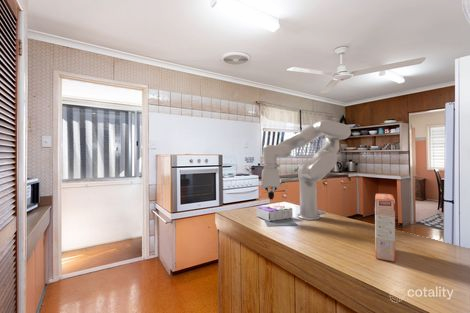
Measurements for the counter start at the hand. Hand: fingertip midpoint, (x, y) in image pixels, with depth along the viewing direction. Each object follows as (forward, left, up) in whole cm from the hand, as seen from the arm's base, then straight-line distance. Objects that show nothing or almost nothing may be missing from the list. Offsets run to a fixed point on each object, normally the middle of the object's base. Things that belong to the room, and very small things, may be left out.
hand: (271, 199), depth 132 cm
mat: (-4, 0, -12) cm, 12 cm away
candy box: (+5, -1, -9) cm, 10 cm away
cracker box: (-33, +48, -12) cm, 60 cm away
